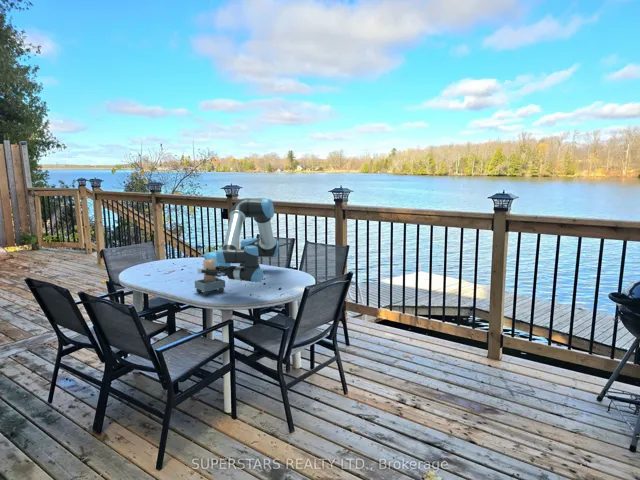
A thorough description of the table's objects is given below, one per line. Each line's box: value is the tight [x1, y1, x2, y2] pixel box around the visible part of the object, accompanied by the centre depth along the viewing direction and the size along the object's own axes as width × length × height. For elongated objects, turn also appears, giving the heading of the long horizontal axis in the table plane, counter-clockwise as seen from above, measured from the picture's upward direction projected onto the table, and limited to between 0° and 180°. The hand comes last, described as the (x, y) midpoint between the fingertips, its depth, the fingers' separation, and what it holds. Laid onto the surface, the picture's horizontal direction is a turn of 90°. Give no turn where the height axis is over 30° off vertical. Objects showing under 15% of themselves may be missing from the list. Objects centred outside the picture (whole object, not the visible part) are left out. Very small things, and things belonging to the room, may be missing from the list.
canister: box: [202, 259, 217, 283], centre depth 224 cm, size 6×6×12 cm
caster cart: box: [194, 276, 226, 297], centre depth 226 cm, size 13×11×7 cm
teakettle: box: [201, 249, 231, 267], centre depth 276 cm, size 19×19×15 cm
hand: (202, 269), depth 226 cm, fingers closed on canister, 6 cm apart
